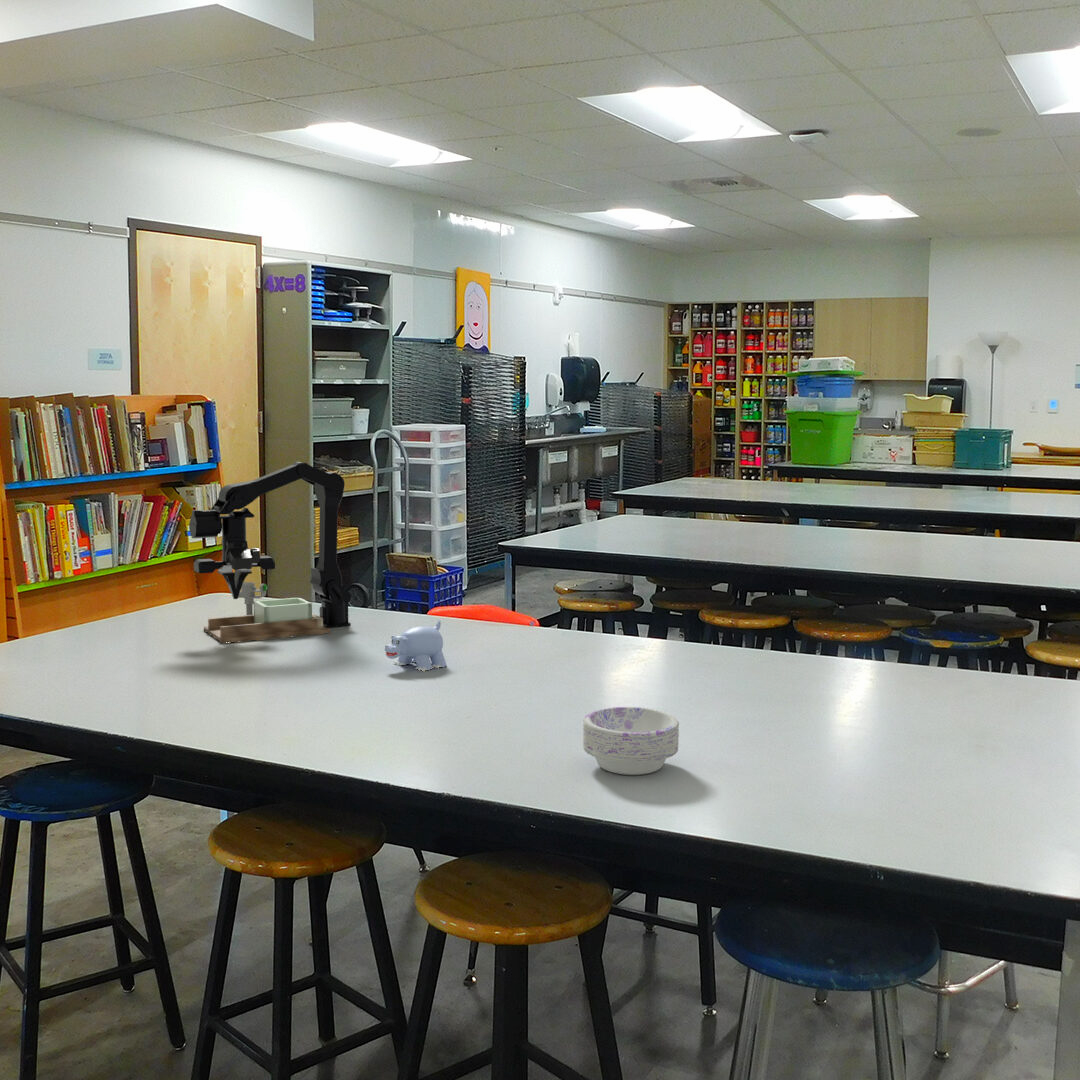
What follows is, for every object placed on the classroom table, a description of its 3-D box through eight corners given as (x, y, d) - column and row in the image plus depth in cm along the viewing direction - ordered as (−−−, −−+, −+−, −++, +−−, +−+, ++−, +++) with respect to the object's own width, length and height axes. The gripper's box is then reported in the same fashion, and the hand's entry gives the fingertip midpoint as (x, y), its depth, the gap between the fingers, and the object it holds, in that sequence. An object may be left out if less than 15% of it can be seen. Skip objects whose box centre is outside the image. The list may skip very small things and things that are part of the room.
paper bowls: (639, 788, 173) (640, 737, 172) (563, 767, 183) (563, 718, 182) (696, 765, 184) (698, 717, 183) (621, 746, 194) (622, 700, 193)
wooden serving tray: (307, 621, 303) (307, 608, 303) (330, 633, 288) (330, 619, 288) (203, 630, 290) (203, 617, 290) (222, 643, 275) (221, 629, 274)
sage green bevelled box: (299, 620, 298) (299, 597, 298) (312, 626, 290) (311, 603, 289) (254, 624, 292) (253, 601, 292) (265, 631, 284) (264, 607, 283)
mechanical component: (265, 622, 302) (264, 584, 301) (229, 620, 304) (228, 583, 303) (269, 620, 305) (269, 583, 304) (234, 618, 307) (233, 581, 306)
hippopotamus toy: (372, 668, 251) (372, 625, 250) (425, 657, 262) (425, 616, 261) (404, 676, 244) (403, 632, 242) (457, 665, 254) (457, 623, 253)
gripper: (203, 541, 271) (205, 606, 273) (281, 537, 280) (282, 601, 282) (192, 536, 280) (194, 599, 282) (267, 533, 290) (268, 594, 291)
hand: (235, 598), depth 284 cm, fingers closed
